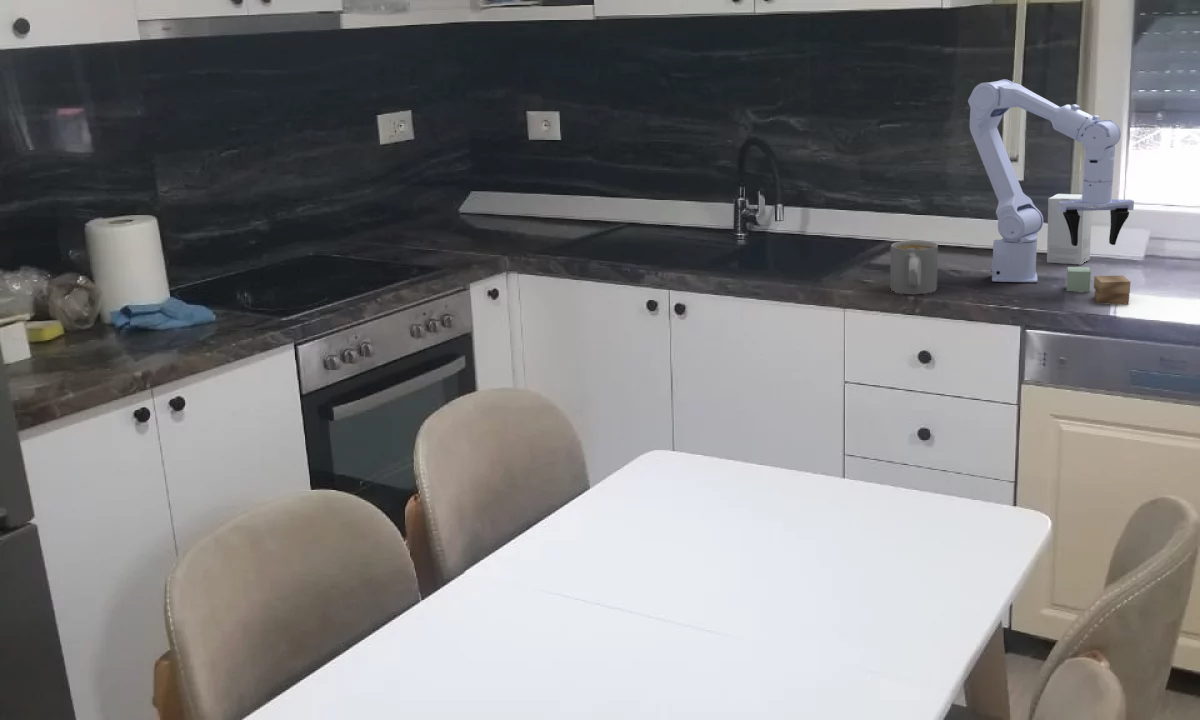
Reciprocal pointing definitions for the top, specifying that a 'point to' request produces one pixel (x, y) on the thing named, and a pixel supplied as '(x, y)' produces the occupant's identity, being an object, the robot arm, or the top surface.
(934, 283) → the coffee mug
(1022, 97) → the robot arm
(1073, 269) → the block
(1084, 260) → the skincare box
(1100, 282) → the tower top
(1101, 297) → the tower base
